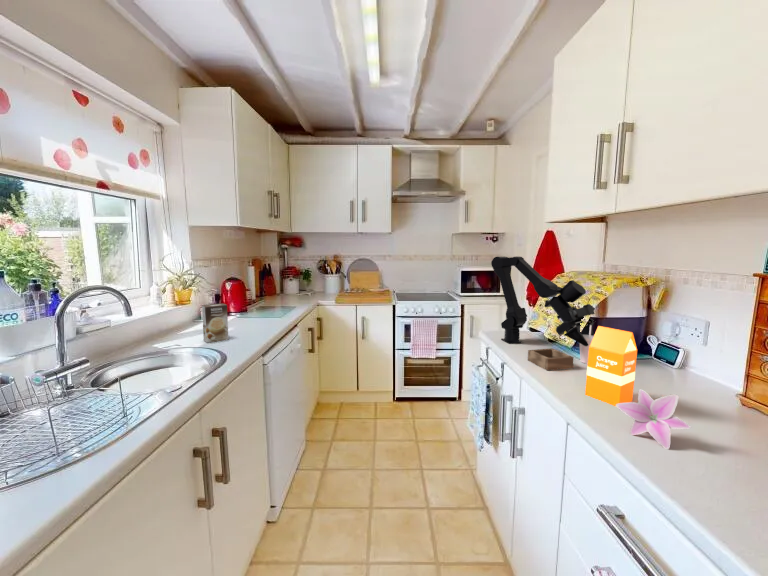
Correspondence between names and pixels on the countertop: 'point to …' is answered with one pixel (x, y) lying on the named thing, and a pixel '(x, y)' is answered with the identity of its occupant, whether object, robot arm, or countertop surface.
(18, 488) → the countertop surface
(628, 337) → the orange juice
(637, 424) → the lily
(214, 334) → the coffee box
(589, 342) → the smoothie
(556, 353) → the brown wooden tray
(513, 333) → the robot arm
